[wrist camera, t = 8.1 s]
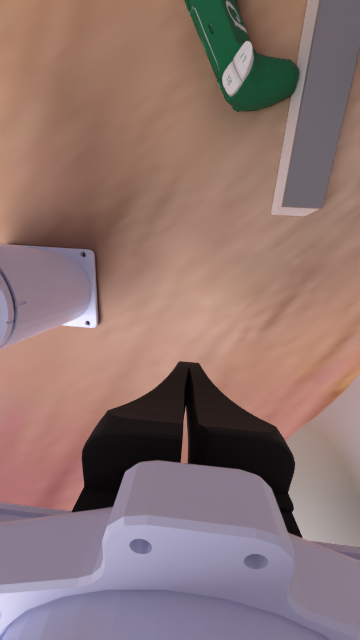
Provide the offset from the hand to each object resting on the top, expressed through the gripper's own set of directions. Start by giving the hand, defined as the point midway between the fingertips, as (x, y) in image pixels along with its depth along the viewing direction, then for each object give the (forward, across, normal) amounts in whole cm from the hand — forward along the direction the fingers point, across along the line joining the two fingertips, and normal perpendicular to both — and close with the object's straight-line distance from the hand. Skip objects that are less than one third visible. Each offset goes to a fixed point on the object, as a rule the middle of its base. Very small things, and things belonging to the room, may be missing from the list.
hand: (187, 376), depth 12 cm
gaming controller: (+9, -2, -23) cm, 24 cm away
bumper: (+8, -8, -20) cm, 23 cm away
